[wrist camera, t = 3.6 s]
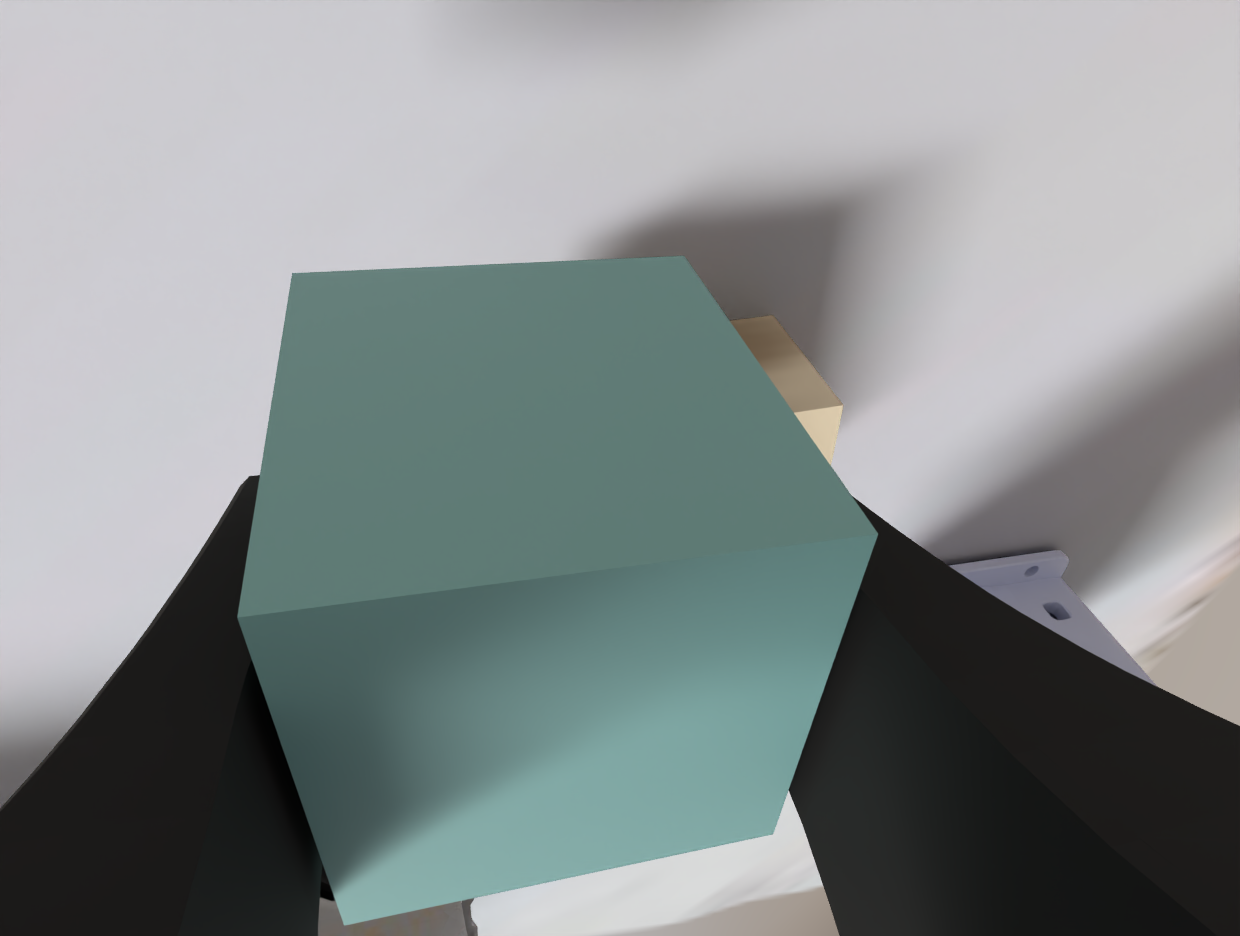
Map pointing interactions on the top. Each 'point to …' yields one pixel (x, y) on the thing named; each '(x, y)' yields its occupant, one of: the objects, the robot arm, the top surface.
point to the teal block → (536, 575)
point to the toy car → (397, 919)
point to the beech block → (794, 379)
